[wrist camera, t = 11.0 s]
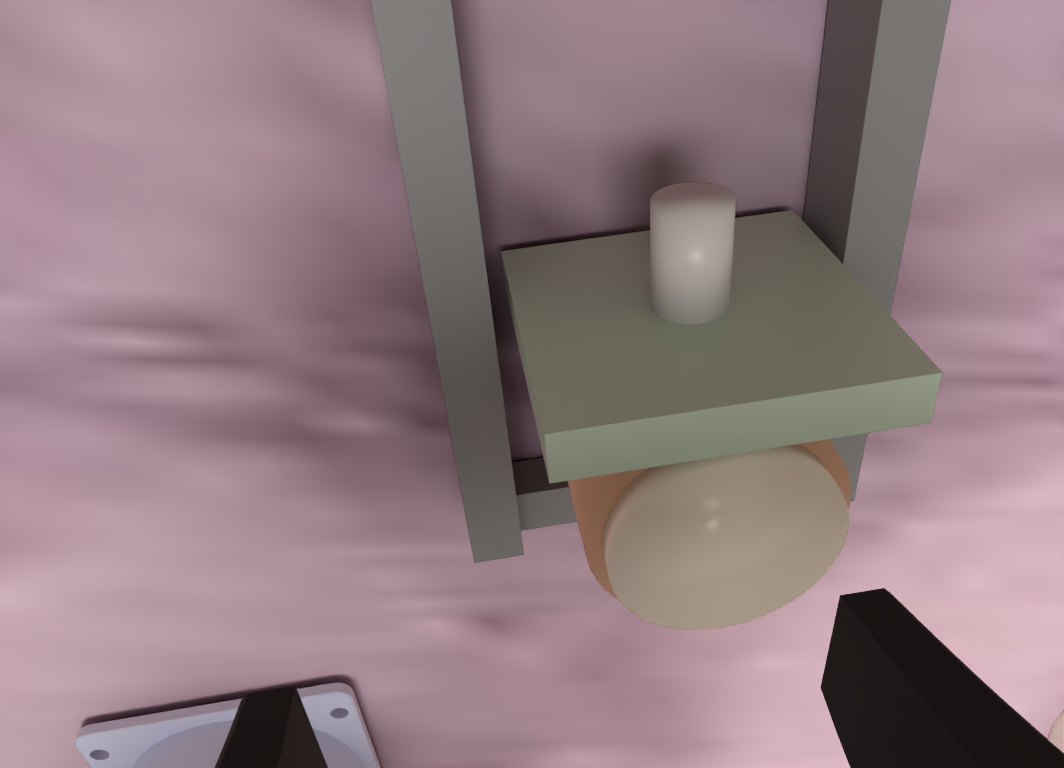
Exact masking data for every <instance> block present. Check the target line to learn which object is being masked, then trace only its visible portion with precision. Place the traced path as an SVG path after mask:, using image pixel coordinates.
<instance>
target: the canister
mask: <svg viewBox="0 0 1064 768" xmlns="http://www.w3.org/2000/svg"><path fill="white" fill-rule="evenodd" d="M1048 740H1049V741H1050V742H1051V743H1052V744H1054V745H1055V746H1056V747H1057V748H1058V749H1059V750H1061V751H1062V752H1063V753H1064V711H1063V712H1062V713H1061V714H1060V716H1059V717H1058V718H1057V719H1056V720H1055V722H1054V723H1053V726H1052V729H1051V731H1050V734H1049V737H1048Z"/></svg>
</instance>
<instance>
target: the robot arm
mask: <svg viewBox="0 0 1064 768" xmlns="http://www.w3.org/2000/svg"><path fill="white" fill-rule="evenodd" d="M821 690H822V692H823V695H824V698H825V701H826V704H827V706H828V709H829V712H830V715H831V718H832V720H833V723H834V726H835V729H836V731H837V734H838V737H839V739H840V742H841V744H842V747H843V750H844V752H845V755H846V757H847V760H848V763H849V765H850V767H851V768H1064V753H1063V752H1062V751H1061V750H1059V749H1058V748H1057V747H1056V746H1055V745H1054V744H1052V743H1051V742H1050V741H1049V740H1048V739H1047V738H1046V737H1044V736H1043V735H1042V734H1041V733H1040V732H1039V731H1038V730H1037V729H1035V728H1034V727H1033V726H1032V725H1031V724H1030V723H1029V722H1027V721H1026V720H1025V719H1024V718H1023V717H1022V716H1021V715H1020V714H1018V713H1017V712H1016V711H1015V710H1014V709H1013V708H1012V707H1011V706H1009V705H1008V704H1007V703H1006V702H1005V701H1004V700H1003V699H1002V698H1000V697H999V696H998V695H997V694H996V693H995V692H994V691H993V690H992V689H991V688H990V687H988V686H987V685H986V684H985V683H984V682H983V681H982V680H981V679H980V678H979V677H978V676H977V675H975V674H974V673H973V672H972V671H971V670H970V669H969V668H968V667H967V666H966V665H965V664H964V663H963V662H962V661H961V660H960V659H958V658H957V657H956V656H955V655H954V654H953V653H952V652H951V651H950V650H949V649H948V648H947V647H946V646H945V645H944V644H943V643H942V642H941V641H940V640H938V639H937V638H936V637H935V636H934V635H933V634H932V633H931V632H930V631H929V630H928V629H927V628H926V627H925V626H924V625H923V624H922V623H921V622H920V621H919V620H918V619H917V618H916V617H915V616H914V615H913V614H912V613H911V612H909V611H908V610H907V609H906V608H905V607H904V606H903V605H902V604H901V603H900V602H899V601H898V600H897V599H896V598H895V597H894V596H893V595H892V594H891V593H890V592H888V591H887V590H886V589H884V588H882V589H876V590H870V591H864V592H858V593H852V594H846V595H840V599H839V603H838V608H837V613H836V617H835V622H834V627H833V632H832V636H831V641H830V646H829V651H828V655H827V660H826V665H825V670H824V674H823V679H822V684H821ZM75 746H76V748H77V749H78V751H79V752H80V754H81V755H82V756H83V758H84V759H85V760H86V762H87V763H88V764H89V766H90V767H91V768H381V767H380V764H379V761H378V759H377V756H376V753H375V750H374V747H373V745H372V742H371V739H370V736H369V733H368V731H367V728H366V725H365V722H364V719H363V716H362V714H361V711H360V708H359V705H358V702H357V700H356V697H355V694H354V691H353V689H352V688H351V687H350V686H348V685H347V684H344V683H339V682H338V683H329V684H323V685H317V686H311V687H305V688H300V689H297V688H296V686H292V687H286V688H280V689H274V690H268V691H262V692H256V693H250V694H247V695H246V696H245V697H244V698H241V699H235V700H229V701H224V702H218V703H212V704H206V705H200V706H194V707H189V708H183V709H177V710H171V711H165V712H159V713H153V714H148V715H142V716H136V717H130V718H124V719H118V720H113V721H107V722H101V723H95V724H90V725H87V726H84V727H82V728H81V729H79V731H78V733H77V736H76V740H75Z"/></svg>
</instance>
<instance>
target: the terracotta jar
mask: <svg viewBox="0 0 1064 768" xmlns="http://www.w3.org/2000/svg"><path fill="white" fill-rule="evenodd" d="M567 482H568V486H569V490H570V494H571V498H572V502H573V505H574V509H575V513H576V517H577V521H578V525H579V529H580V533H581V537H582V541H583V545H584V549H585V553H586V557H587V560H588V563H589V566H590V569H591V571H592V573H593V574H594V576H595V578H596V580H597V581H598V582H599V583H600V584H601V585H602V587H603V588H604V589H605V590H606V591H608V592H609V593H610V594H611V595H613V596H614V597H616V598H617V599H619V601H620V602H621V603H622V604H623V605H624V606H625V607H626V608H627V609H628V610H629V611H631V612H632V613H633V614H635V615H637V616H638V617H640V618H642V619H644V620H646V621H648V622H651V623H653V624H657V625H660V626H664V627H669V628H675V629H686V630H703V629H714V628H722V627H727V626H732V625H736V624H740V623H743V622H747V621H750V620H753V619H756V618H758V617H761V616H764V615H766V614H768V613H770V612H772V611H775V610H777V609H779V608H780V607H782V606H784V605H786V604H788V603H789V602H791V601H793V600H794V599H795V598H797V597H798V596H800V595H801V594H803V593H804V592H805V591H807V590H808V589H809V588H810V587H812V586H813V585H814V584H815V583H816V582H817V581H818V580H819V579H820V578H821V577H822V576H823V575H824V574H825V573H826V572H827V570H828V569H829V568H830V567H831V566H832V564H833V563H834V561H835V560H836V558H837V557H838V555H839V553H840V551H841V549H842V547H843V545H844V542H845V539H846V536H847V533H848V526H849V511H848V509H849V504H850V496H851V488H850V479H849V475H848V471H847V469H846V467H845V465H844V462H843V460H842V459H841V457H840V456H839V454H838V452H837V451H836V449H835V448H834V446H833V445H832V443H831V442H830V440H829V439H826V440H820V441H814V442H808V443H801V444H795V445H789V446H782V447H776V448H770V449H764V450H757V451H751V452H745V453H738V454H732V455H726V456H720V457H713V458H707V459H701V460H694V461H688V462H682V463H676V464H669V465H663V466H657V467H651V468H644V469H638V470H632V471H625V472H619V473H613V474H607V475H600V476H594V477H588V478H581V479H575V480H569V481H567Z"/></svg>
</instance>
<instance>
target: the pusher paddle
mask: <svg viewBox="0 0 1064 768" xmlns="http://www.w3.org/2000/svg"><path fill="white" fill-rule="evenodd" d="M735 211H736V197H735V195H734V194H733V193H732V192H731V191H730V190H728V189H726V188H724V187H722V186H719V185H715V184H710V183H701V182H688V183H679V184H674V185H670V186H667V187H664V188H662V189H660V190H658V191H657V192H655V193H654V194H653V195H652V197H651V199H650V230H648V231H641V232H634V233H626V234H619V235H612V236H605V237H598V238H591V239H584V240H577V241H570V242H563V243H556V244H549V245H542V246H535V247H528V248H521V249H514V250H506V251H501V257H502V265H503V274H504V282H505V291H506V296H507V301H508V305H509V309H510V314H511V318H512V322H513V327H514V331H515V336H516V340H517V344H518V349H519V353H520V357H521V362H522V366H523V370H524V375H525V379H526V383H527V388H528V392H529V397H530V401H531V405H532V410H533V414H534V418H535V423H536V427H537V431H538V436H539V440H540V445H541V449H542V453H543V458H544V462H545V466H546V471H547V475H548V479H549V484H550V483H556V482H563V481H569V480H575V479H581V478H588V477H594V476H600V475H607V474H613V473H619V472H625V471H632V470H638V469H644V468H651V467H657V466H663V465H669V464H676V463H682V462H688V461H694V460H701V459H707V458H713V457H720V456H726V455H732V454H738V453H745V452H751V451H757V450H764V449H770V448H776V447H782V446H789V445H795V444H801V443H808V442H814V441H820V440H826V439H833V438H839V437H845V436H852V435H858V434H864V433H870V432H877V431H883V430H889V429H896V428H902V427H908V426H914V425H921V424H927V423H930V421H931V417H932V413H933V409H934V405H935V401H936V397H937V393H938V389H939V385H940V381H941V377H942V373H943V372H942V371H941V370H940V369H939V368H938V367H937V366H936V365H935V364H934V363H933V362H932V361H931V359H930V358H929V357H928V356H927V355H926V354H925V353H924V352H923V351H922V350H921V349H920V347H919V346H918V345H917V344H916V343H915V342H914V341H913V340H912V339H911V338H910V337H909V336H908V334H907V333H906V332H905V331H904V330H903V329H902V328H901V327H900V326H899V325H898V324H897V323H896V321H895V320H894V319H893V318H892V317H891V316H890V315H889V314H888V313H887V312H886V311H885V309H884V308H883V307H882V306H881V305H880V304H879V303H878V302H877V301H876V300H875V299H874V298H873V296H872V295H871V294H870V293H869V292H868V291H867V290H866V289H865V288H864V287H863V286H862V285H861V283H860V282H859V281H858V280H857V279H856V278H855V277H854V276H853V275H852V274H851V273H850V271H849V270H848V269H847V268H846V267H845V266H844V265H843V264H842V263H841V262H840V261H839V260H838V258H837V257H836V256H835V255H834V254H833V253H832V252H831V251H830V250H829V249H828V248H827V247H826V245H825V244H824V243H823V242H822V241H821V240H820V239H819V238H818V237H817V236H816V235H815V233H814V232H813V231H812V230H811V229H810V228H809V227H808V226H807V225H806V224H805V223H804V222H803V220H802V219H801V218H800V217H799V216H798V215H797V214H796V213H795V212H794V211H793V210H789V211H782V212H775V213H768V214H761V215H754V216H746V217H739V218H735Z"/></svg>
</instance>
